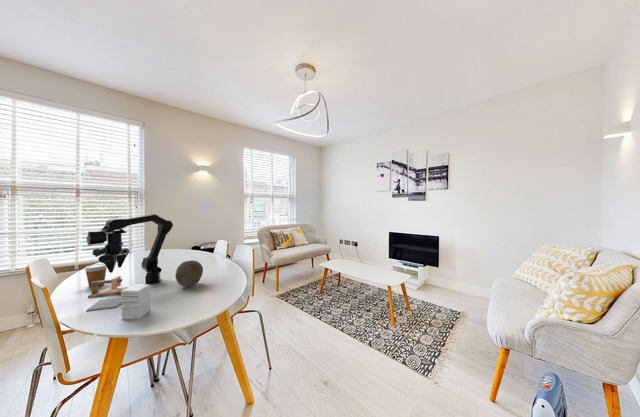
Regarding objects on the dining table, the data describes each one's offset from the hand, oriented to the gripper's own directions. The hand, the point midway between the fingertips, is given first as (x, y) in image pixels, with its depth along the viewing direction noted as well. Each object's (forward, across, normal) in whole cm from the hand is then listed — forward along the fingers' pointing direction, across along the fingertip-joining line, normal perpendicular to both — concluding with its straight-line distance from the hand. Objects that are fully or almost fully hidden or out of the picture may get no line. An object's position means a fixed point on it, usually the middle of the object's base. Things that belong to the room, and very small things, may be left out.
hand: (115, 269), depth 122 cm
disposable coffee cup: (+13, -14, -15) cm, 24 cm away
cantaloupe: (+13, +3, +36) cm, 38 cm away
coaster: (+12, +16, +3) cm, 21 cm away
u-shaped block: (+10, 0, 0) cm, 10 cm away
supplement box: (+13, +33, +21) cm, 41 cm away
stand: (+12, 0, -3) cm, 13 cm away
